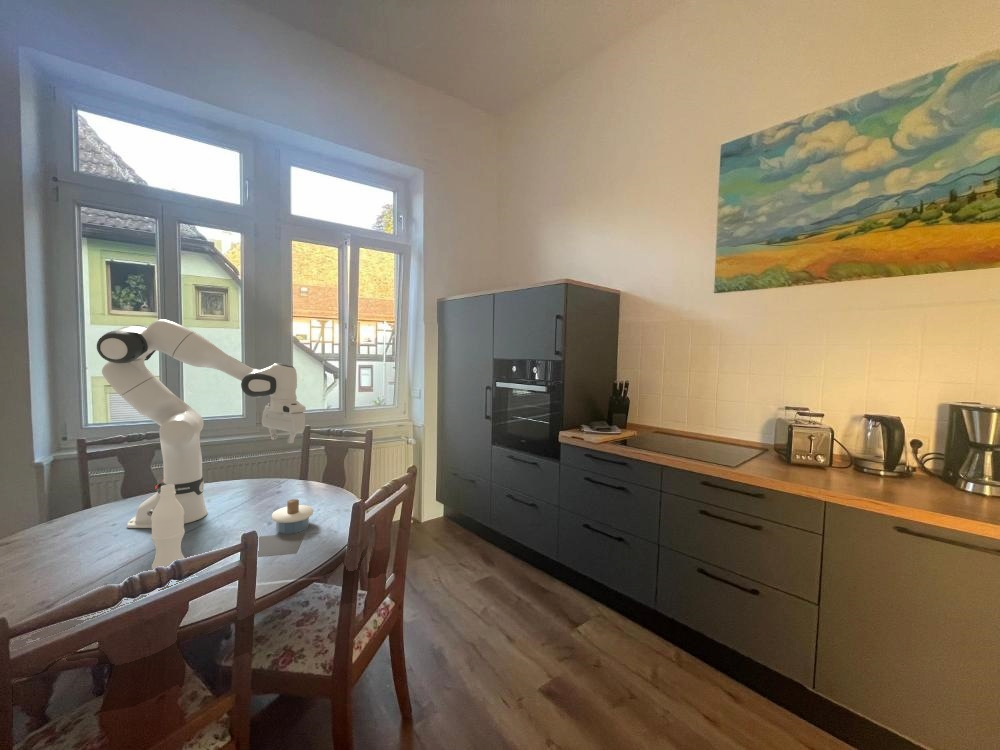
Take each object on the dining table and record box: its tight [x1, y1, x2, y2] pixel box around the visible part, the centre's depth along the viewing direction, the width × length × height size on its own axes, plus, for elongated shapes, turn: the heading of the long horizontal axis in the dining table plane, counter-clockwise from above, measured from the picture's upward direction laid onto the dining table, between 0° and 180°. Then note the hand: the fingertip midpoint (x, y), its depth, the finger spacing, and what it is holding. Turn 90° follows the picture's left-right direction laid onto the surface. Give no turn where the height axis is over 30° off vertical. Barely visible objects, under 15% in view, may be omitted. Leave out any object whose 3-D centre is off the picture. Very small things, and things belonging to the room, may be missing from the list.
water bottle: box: [150, 484, 186, 570], centre depth 112 cm, size 7×7×25 cm
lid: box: [271, 498, 314, 523], centre depth 142 cm, size 13×13×5 cm
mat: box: [257, 532, 306, 558], centre depth 130 cm, size 14×14×1 cm
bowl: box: [275, 517, 310, 535], centre depth 142 cm, size 10×10×5 cm
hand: (282, 441), depth 155 cm, fingers open, 8 cm apart
